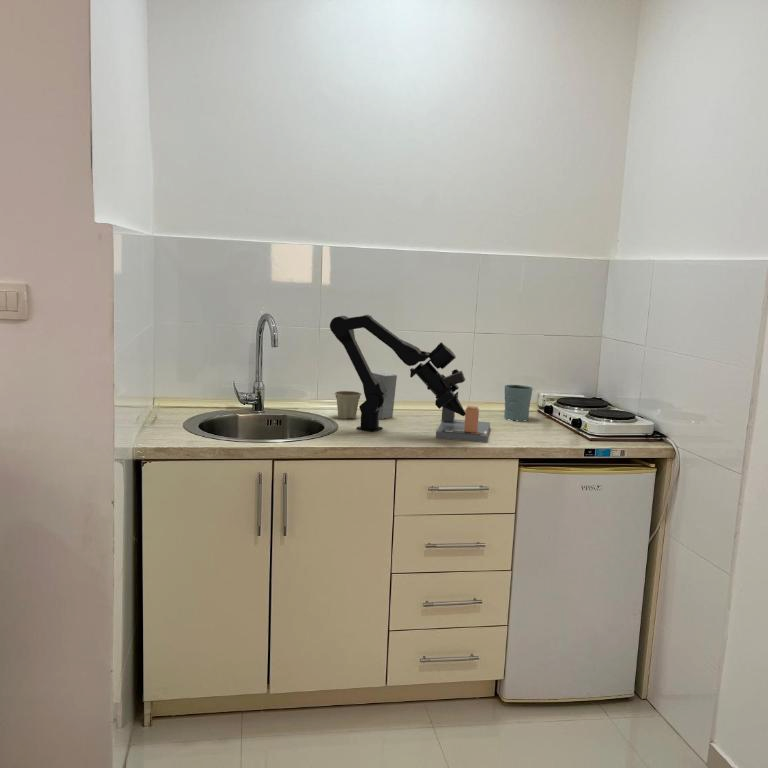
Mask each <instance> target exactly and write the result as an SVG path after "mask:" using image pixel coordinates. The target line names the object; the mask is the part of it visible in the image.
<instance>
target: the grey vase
mask: <svg viewBox="0 0 768 768" xmlns="http://www.w3.org/2000/svg"><path fill="white" fill-rule="evenodd" d="M371 372H372V374H373V376H374V378H375V379H376V380H377V381H378V382H380V381H383V384H384V387H385V388H386V390H387V391H388V392H386V393H387V400H386V402H385V403H384V404H383V405H382V406H381V407H380V409H378V410H379V420H385V419H384V418H386V419H391V418H390V417H392V418H393V415H394V408H395V407H394V405H395V398H396V397H395V396H396V388H397V381H398V380H397V379H398V375H397V374H393V373H390V372H385V371H382V370H381V371H371Z"/></svg>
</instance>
